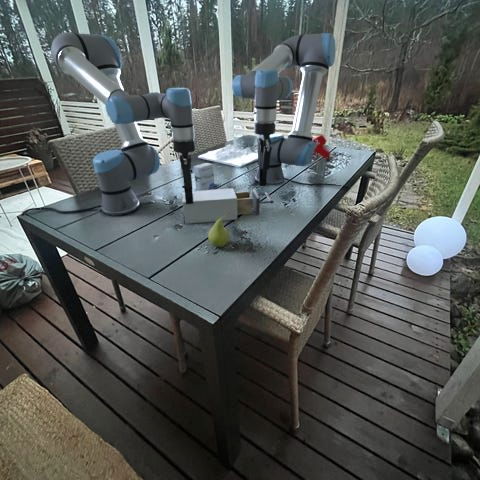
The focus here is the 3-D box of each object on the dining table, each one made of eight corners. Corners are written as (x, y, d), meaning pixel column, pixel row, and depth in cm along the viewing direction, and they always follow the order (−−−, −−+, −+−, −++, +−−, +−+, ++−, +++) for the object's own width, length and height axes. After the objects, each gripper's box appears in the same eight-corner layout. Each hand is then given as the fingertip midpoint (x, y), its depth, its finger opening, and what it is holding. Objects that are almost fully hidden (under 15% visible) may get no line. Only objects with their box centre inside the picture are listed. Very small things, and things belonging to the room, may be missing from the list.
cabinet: (233, 208, 117) (233, 188, 112) (237, 219, 108) (237, 198, 103) (185, 212, 114) (182, 191, 109) (185, 223, 105) (182, 202, 100)
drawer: (267, 204, 118) (268, 188, 114) (273, 213, 110) (274, 197, 106) (210, 208, 114) (209, 192, 110) (211, 218, 107) (210, 201, 103)
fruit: (206, 242, 94) (203, 211, 88) (227, 237, 96) (225, 207, 90) (212, 252, 89) (209, 220, 82) (233, 247, 91) (232, 215, 85)
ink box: (208, 184, 140) (207, 162, 133) (214, 187, 137) (213, 164, 130) (195, 189, 134) (192, 165, 128) (201, 192, 132) (199, 168, 125)
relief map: (240, 167, 163) (239, 158, 160) (198, 157, 181) (197, 150, 178) (264, 157, 181) (264, 149, 178) (224, 149, 199) (223, 141, 196)
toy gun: (334, 153, 174) (322, 133, 171) (333, 155, 171) (321, 134, 167) (309, 168, 184) (297, 149, 181) (308, 170, 181) (296, 151, 177)
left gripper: (173, 131, 103) (180, 184, 115) (170, 149, 83) (179, 211, 94) (193, 131, 104) (197, 183, 116) (195, 148, 84) (200, 209, 96)
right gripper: (250, 118, 100) (249, 180, 113) (258, 125, 89) (256, 192, 102) (270, 118, 101) (267, 179, 114) (280, 124, 90) (276, 190, 103)
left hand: (189, 196), depth 105 cm, fingers open, 13 cm apart
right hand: (262, 185), depth 108 cm, fingers closed
